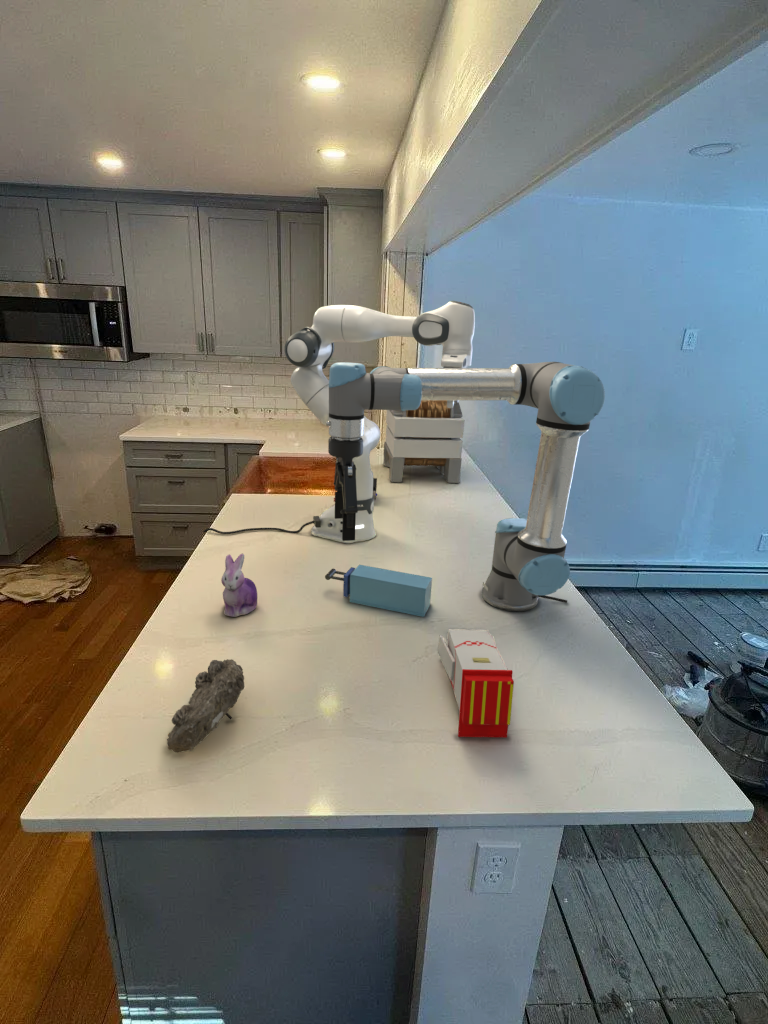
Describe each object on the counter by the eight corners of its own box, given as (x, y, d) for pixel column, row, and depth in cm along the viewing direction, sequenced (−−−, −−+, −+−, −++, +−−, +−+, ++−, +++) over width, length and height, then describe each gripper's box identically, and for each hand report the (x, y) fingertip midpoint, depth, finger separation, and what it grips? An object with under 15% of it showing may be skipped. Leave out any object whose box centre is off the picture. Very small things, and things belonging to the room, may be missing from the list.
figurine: (226, 621, 140) (223, 566, 135) (217, 603, 148) (214, 550, 143) (264, 614, 144) (262, 560, 139) (253, 596, 153) (251, 545, 148)
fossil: (192, 660, 117) (244, 628, 112) (224, 691, 120) (276, 661, 115) (142, 746, 98) (202, 712, 93) (182, 779, 101) (242, 748, 96)
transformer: (382, 463, 289) (386, 382, 275) (445, 464, 293) (451, 384, 279) (390, 482, 257) (394, 392, 243) (460, 483, 261) (468, 394, 247)
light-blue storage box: (349, 602, 152) (350, 574, 150) (358, 591, 158) (359, 564, 156) (423, 617, 147) (425, 588, 144) (430, 605, 153) (432, 577, 150)
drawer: (323, 592, 155) (323, 571, 153) (331, 584, 160) (332, 563, 158) (412, 610, 148) (413, 588, 146) (418, 600, 153) (419, 579, 151)
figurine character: (377, 508, 228) (376, 492, 242) (377, 490, 225) (377, 476, 238) (360, 507, 228) (361, 492, 242) (360, 490, 225) (361, 475, 238)
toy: (488, 613, 130) (523, 677, 101) (484, 667, 133) (517, 744, 104) (435, 612, 130) (455, 676, 101) (432, 666, 133) (451, 743, 103)
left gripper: (452, 356, 180) (448, 400, 184) (440, 360, 161) (436, 409, 166) (471, 357, 178) (467, 401, 183) (462, 362, 160) (457, 411, 164)
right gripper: (322, 425, 133) (322, 510, 140) (335, 451, 110) (334, 551, 117) (354, 425, 134) (352, 509, 142) (373, 450, 111) (370, 549, 119)
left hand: (452, 405), depth 174 cm, fingers open, 8 cm apart
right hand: (344, 528), depth 129 cm, fingers open, 13 cm apart
